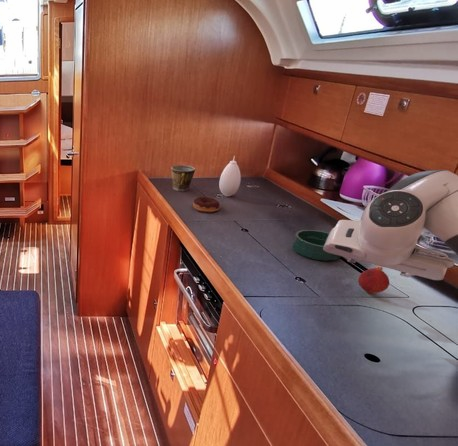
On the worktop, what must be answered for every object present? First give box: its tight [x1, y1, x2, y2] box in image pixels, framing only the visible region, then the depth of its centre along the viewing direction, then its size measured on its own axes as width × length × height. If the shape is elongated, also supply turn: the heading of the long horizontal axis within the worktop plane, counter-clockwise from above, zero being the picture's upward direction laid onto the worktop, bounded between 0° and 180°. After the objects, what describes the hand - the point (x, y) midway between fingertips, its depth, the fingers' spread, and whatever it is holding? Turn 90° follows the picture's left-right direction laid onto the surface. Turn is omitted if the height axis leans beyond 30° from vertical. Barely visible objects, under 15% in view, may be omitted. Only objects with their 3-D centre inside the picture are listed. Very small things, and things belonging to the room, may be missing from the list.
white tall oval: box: [218, 155, 242, 197], centre depth 167 cm, size 8×8×18 cm
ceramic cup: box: [170, 164, 196, 192], centre depth 179 cm, size 13×10×10 cm
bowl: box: [292, 229, 342, 262], centre depth 122 cm, size 12×12×5 cm
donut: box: [192, 196, 221, 213], centre depth 158 cm, size 10×10×4 cm
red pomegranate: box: [357, 265, 390, 295], centre depth 101 cm, size 6×6×8 cm
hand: (377, 266), depth 92 cm, fingers open, 8 cm apart
